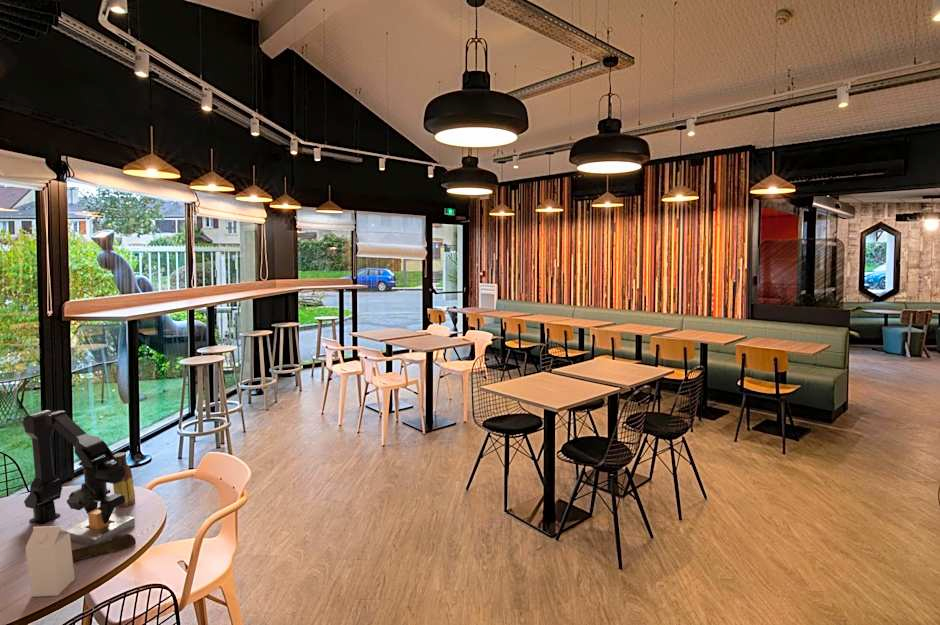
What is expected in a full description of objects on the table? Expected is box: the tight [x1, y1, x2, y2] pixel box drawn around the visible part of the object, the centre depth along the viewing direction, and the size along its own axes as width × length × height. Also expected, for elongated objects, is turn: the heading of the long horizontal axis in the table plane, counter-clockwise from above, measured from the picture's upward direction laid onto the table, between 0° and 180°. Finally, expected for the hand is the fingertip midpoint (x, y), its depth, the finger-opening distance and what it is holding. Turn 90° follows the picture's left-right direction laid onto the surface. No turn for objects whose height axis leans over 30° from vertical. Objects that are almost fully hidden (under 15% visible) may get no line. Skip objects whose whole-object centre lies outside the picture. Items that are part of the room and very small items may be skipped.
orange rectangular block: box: [87, 509, 110, 531], centre depth 176 cm, size 4×4×8 cm
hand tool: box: [71, 533, 137, 562], centre depth 164 cm, size 19×4×5 cm, turn 120°
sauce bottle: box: [112, 452, 136, 508], centre depth 194 cm, size 7×6×20 cm
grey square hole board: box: [65, 512, 136, 547], centre depth 177 cm, size 14×14×3 cm
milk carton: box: [25, 525, 76, 598], centre depth 147 cm, size 7×7×19 cm
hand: (99, 521), depth 176 cm, fingers open, 6 cm apart
